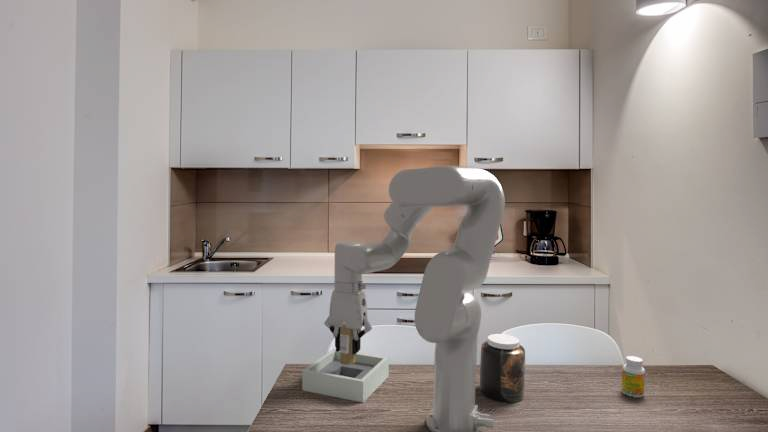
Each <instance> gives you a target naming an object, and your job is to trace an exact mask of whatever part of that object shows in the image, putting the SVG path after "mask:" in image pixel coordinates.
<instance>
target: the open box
mask: <svg viewBox="0 0 768 432" xmlns="http://www.w3.org/2000/svg"><path fill="white" fill-rule="evenodd" d="M355 360H356V362H355V363H354V364H351V365H344V364H341V363H340V351H338V352H337V351H336V348H333V349H331V350H330V351H328V352H327V353H326V354H324V355H323V356H321V357H320V358H318V359H317V360H315V361H314V362H313V363H311V364H310V365H308V366H307V367H306V368H304V369H302V371H301V372H302V373H301V375H302V380H301V382H302V383H301V384H302V385H301V387H302V389H301V390H302V391H303V392H308V393H314V394H319V395H323V396H329V397H333V398H338V399H342V400H343V399H344V400H346V401H347V400H349V401H353V402H358V403H365V402H366V401H367V399H368V398H369V397H370V396H371V395H372V394H373V393H374V392H375V391H376V390H377V389H378V388H379V387H380V386H381V385H382V384H383V382H384V381H386V380H387V378H389V372H390V371H389V369H390V368H389V366H390V365H389V364H390V357H387V356H381V355H374V354H367V353H362V352H361V353H360V352H357V353H356V354H355Z"/></svg>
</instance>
